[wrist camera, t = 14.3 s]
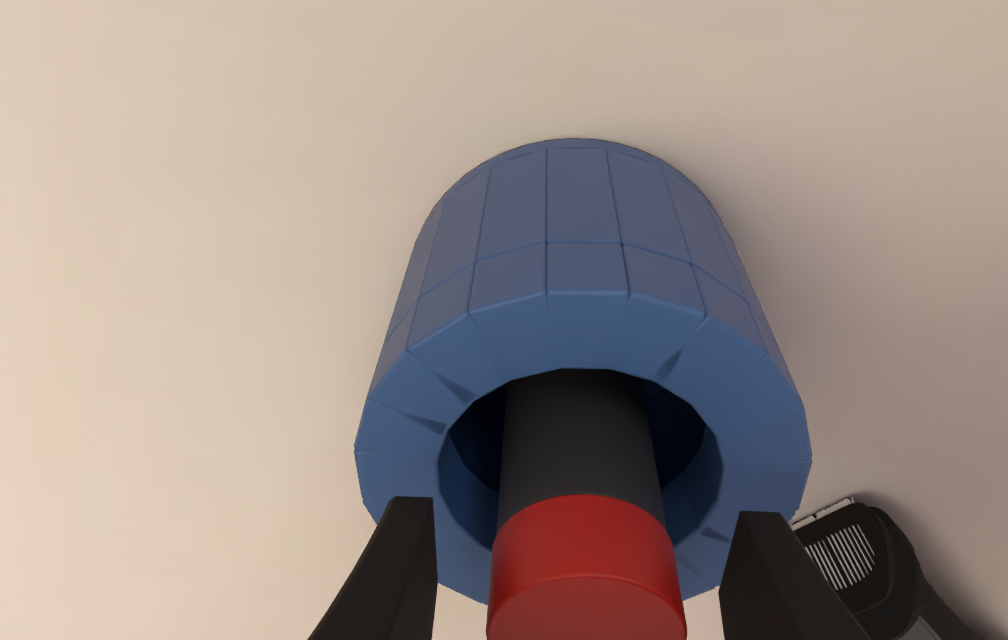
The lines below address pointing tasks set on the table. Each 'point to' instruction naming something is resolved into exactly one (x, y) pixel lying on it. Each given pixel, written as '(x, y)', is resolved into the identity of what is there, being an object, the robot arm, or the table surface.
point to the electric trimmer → (877, 574)
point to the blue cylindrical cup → (581, 349)
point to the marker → (581, 515)
